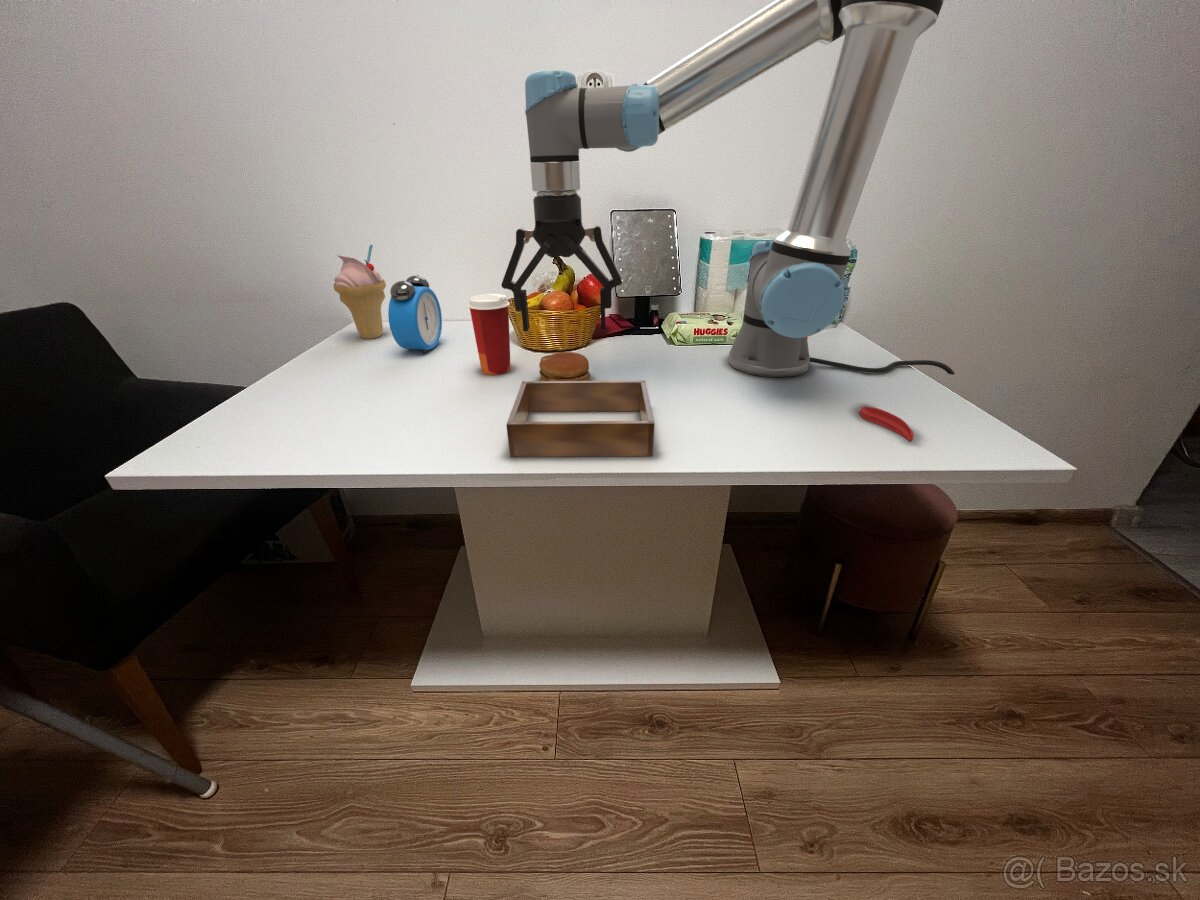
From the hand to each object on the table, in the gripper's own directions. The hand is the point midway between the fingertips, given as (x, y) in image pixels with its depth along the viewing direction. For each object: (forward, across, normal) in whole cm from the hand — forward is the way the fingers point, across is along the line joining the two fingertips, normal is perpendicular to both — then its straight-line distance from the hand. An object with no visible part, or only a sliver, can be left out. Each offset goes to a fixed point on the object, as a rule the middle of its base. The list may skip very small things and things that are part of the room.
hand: (564, 328), depth 90 cm
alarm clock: (+9, +34, -20) cm, 40 cm away
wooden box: (+10, -3, +21) cm, 23 cm away
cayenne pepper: (+11, -49, +19) cm, 54 cm away
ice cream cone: (+9, +49, -30) cm, 58 cm away
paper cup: (+10, +15, -6) cm, 19 cm away
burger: (+10, +1, 0) cm, 10 cm away
